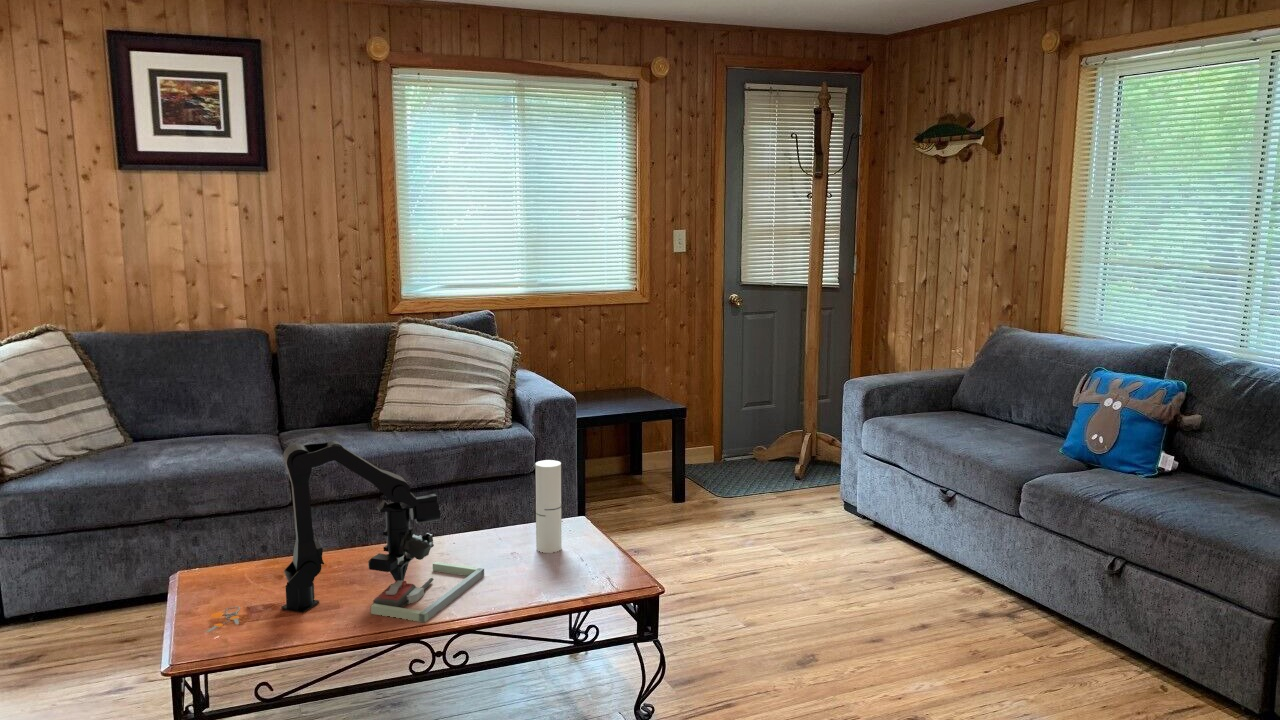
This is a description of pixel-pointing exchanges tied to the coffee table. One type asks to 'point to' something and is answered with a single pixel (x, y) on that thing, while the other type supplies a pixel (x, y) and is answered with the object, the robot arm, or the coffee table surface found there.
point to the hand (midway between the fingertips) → (400, 584)
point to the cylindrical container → (548, 506)
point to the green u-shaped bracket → (430, 611)
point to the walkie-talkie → (401, 594)
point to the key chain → (231, 617)
